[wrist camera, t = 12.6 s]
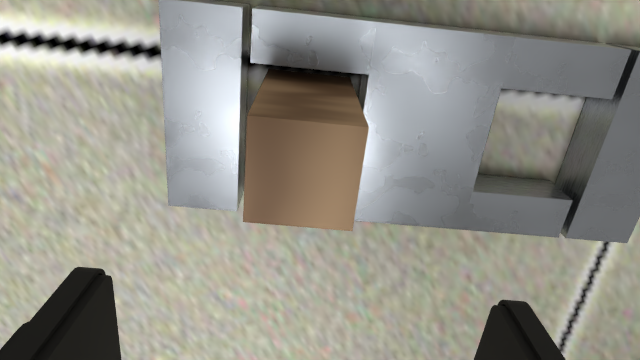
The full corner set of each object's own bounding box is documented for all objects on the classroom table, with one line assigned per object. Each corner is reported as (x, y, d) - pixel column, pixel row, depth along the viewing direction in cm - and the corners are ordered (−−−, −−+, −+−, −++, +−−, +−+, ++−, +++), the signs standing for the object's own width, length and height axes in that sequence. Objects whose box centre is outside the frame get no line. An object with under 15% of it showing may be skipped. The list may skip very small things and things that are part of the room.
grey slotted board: (672, 50, 27) (713, 58, 24) (599, 220, 32) (627, 242, 29) (175, -5, 25) (158, -2, 22) (181, 184, 30) (168, 205, 27)
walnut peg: (349, 77, 27) (369, 127, 18) (339, 152, 29) (352, 230, 20) (268, 68, 27) (246, 115, 18) (264, 144, 29) (243, 221, 20)
